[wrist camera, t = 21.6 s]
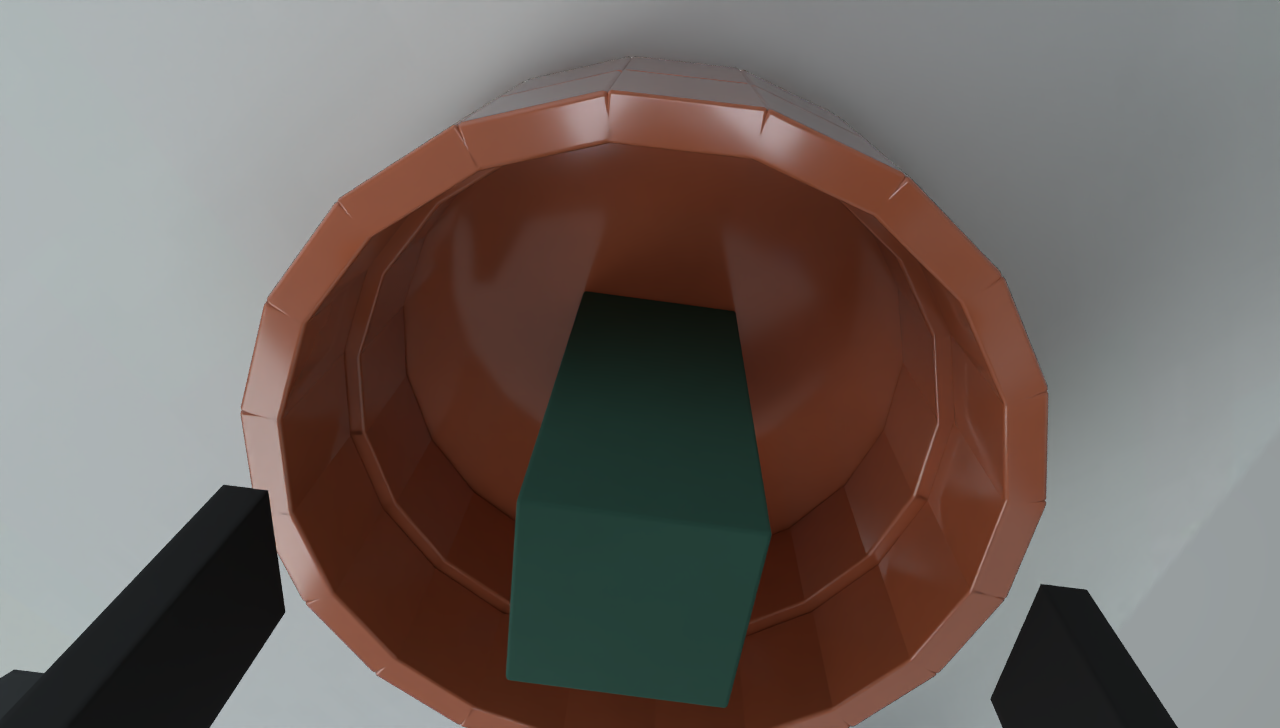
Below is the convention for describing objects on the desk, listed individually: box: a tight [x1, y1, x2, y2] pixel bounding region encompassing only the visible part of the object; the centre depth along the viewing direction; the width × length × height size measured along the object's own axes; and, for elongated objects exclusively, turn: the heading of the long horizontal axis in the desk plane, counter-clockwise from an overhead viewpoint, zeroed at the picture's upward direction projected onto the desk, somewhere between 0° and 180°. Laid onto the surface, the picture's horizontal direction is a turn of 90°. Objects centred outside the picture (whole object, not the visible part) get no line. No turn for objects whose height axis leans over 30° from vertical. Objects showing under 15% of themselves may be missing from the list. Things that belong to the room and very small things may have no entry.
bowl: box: [241, 56, 1048, 728], centre depth 18 cm, size 16×16×7 cm
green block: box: [506, 291, 772, 708], centre depth 17 cm, size 4×4×9 cm
